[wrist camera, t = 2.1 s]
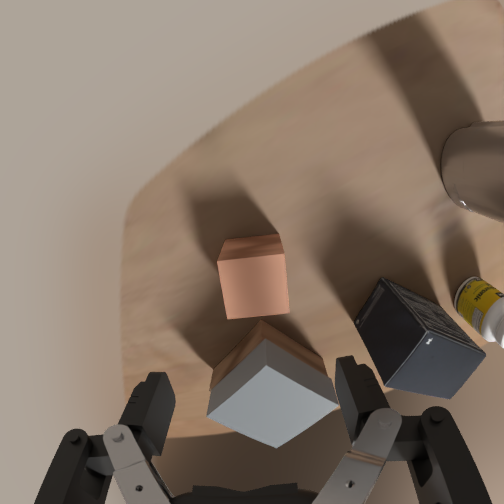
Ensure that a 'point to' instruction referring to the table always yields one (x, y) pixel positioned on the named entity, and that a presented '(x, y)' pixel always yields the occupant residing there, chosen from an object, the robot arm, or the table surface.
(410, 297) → the small box
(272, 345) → the tower top
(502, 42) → the table surface
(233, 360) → the tower base
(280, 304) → the terracotta block
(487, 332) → the supplement bottle
